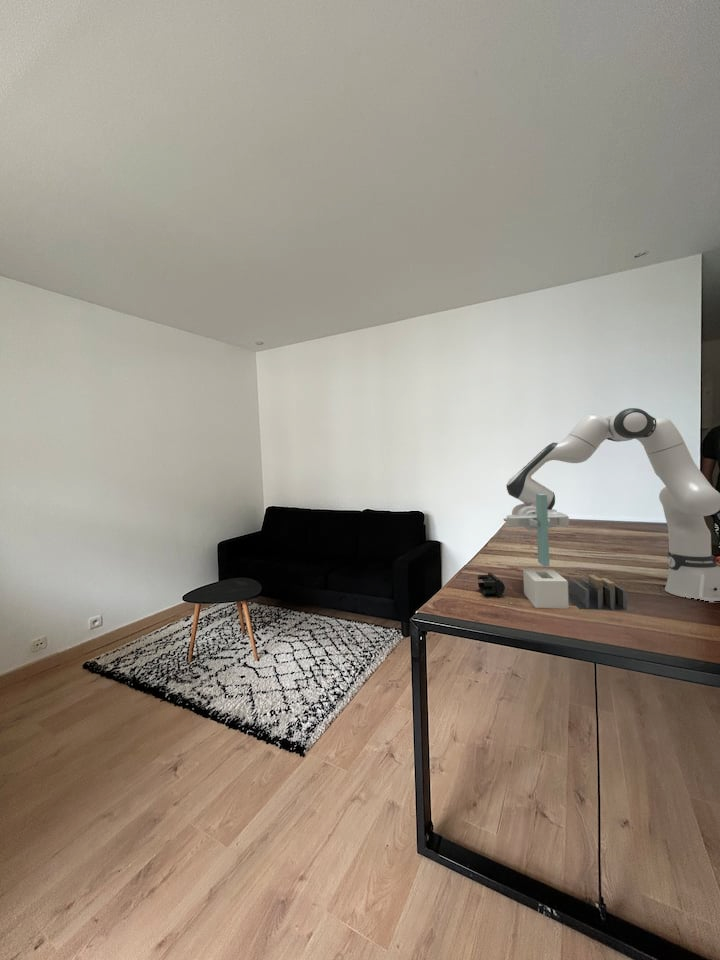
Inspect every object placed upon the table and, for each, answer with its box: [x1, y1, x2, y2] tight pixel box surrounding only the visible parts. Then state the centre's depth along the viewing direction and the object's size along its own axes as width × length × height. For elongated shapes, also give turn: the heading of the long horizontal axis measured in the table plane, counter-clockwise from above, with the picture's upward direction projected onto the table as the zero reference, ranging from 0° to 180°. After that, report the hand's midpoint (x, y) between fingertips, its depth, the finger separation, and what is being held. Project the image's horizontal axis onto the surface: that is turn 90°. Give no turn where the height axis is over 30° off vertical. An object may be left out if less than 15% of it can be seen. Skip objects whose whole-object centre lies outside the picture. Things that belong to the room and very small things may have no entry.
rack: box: [567, 576, 635, 611], centre depth 122 cm, size 16×15×7 cm
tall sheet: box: [536, 494, 550, 567], centre depth 125 cm, size 2×6×24 cm, turn 170°
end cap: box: [477, 572, 506, 598], centre depth 138 cm, size 10×7×7 cm
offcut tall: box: [587, 574, 603, 605], centre depth 122 cm, size 2×6×8 cm, turn 170°
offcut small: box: [600, 577, 616, 605], centre depth 122 cm, size 2×6×7 cm, turn 170°
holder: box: [522, 569, 570, 609], centre depth 125 cm, size 10×14×10 cm
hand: (543, 523), depth 124 cm, fingers closed on tall sheet, 2 cm apart
